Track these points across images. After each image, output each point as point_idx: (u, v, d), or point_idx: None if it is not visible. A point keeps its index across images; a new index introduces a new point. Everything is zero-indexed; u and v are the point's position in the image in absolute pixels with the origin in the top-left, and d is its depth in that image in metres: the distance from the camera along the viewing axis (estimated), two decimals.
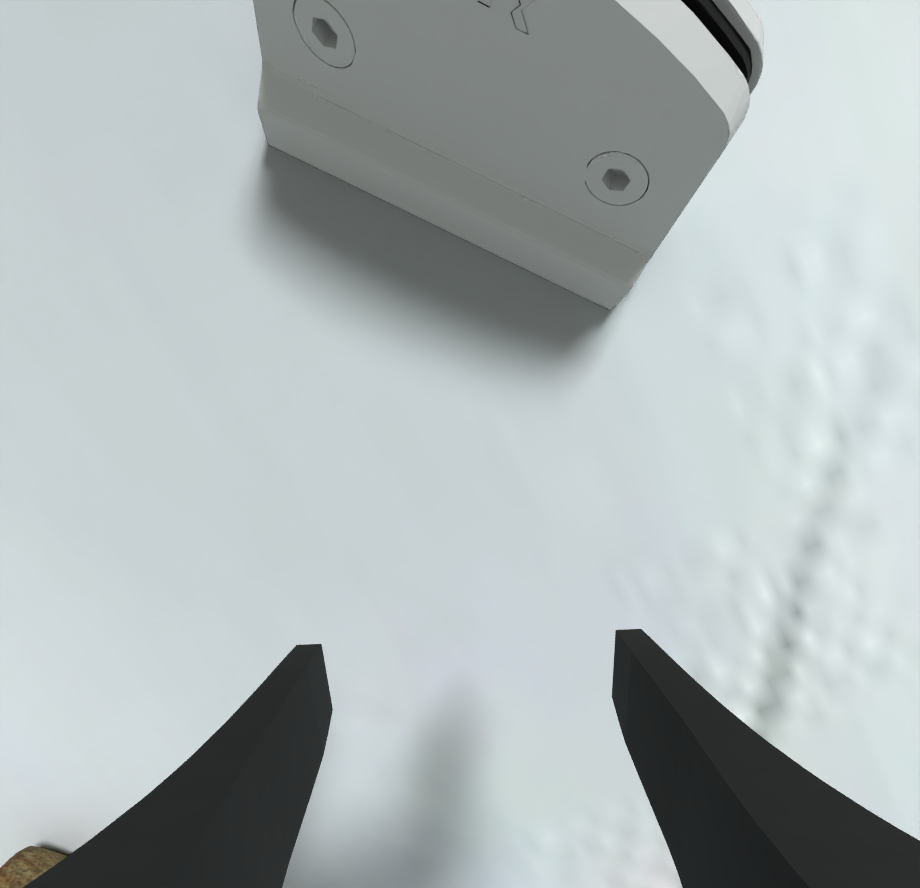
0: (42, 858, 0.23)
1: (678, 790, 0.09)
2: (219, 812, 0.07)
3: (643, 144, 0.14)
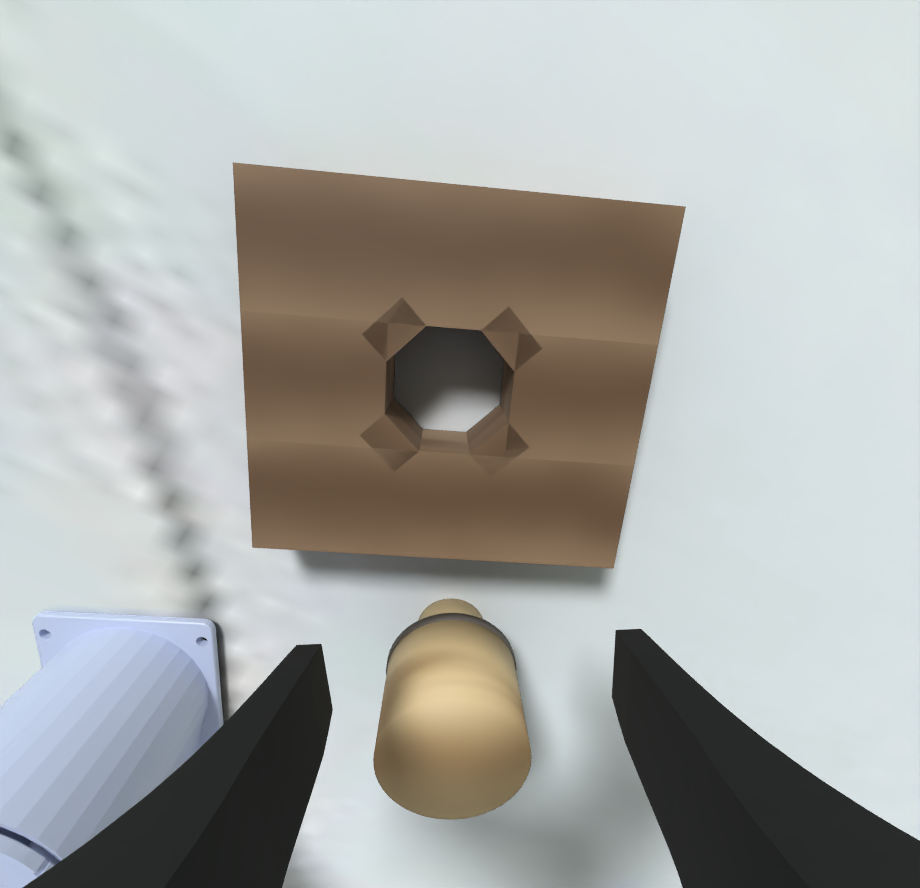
0: None
1: (678, 790, 0.09)
2: (219, 812, 0.07)
3: None
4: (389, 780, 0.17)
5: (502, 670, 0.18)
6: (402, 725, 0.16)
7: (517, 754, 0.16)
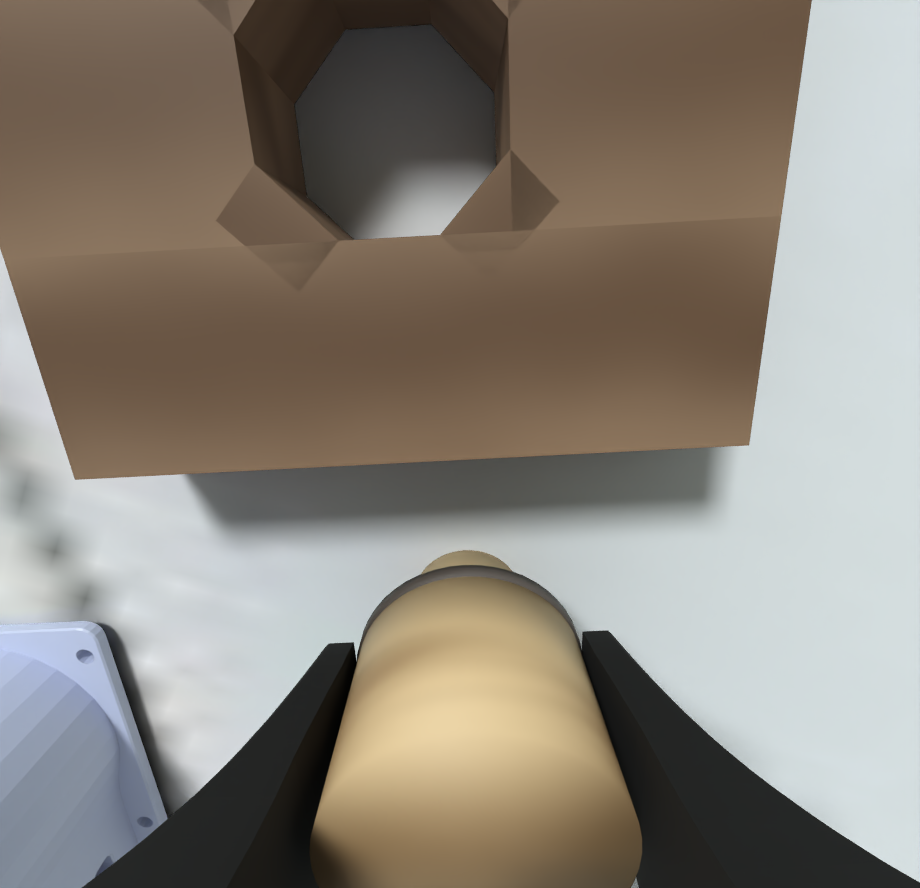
0: None
1: (634, 792, 0.09)
2: (272, 809, 0.07)
3: None
4: None
5: (559, 659, 0.09)
6: (356, 796, 0.07)
7: (610, 834, 0.08)
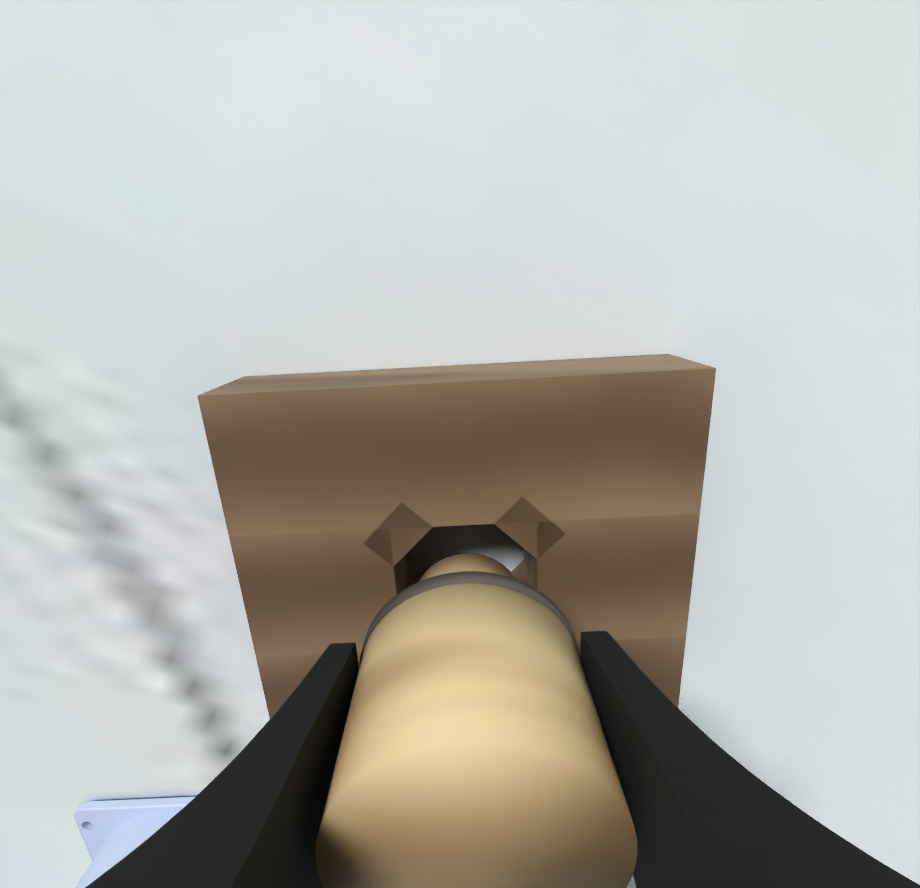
0: None
1: (632, 792, 0.09)
2: (275, 810, 0.07)
3: None
4: None
5: (556, 666, 0.09)
6: (359, 804, 0.08)
7: (606, 836, 0.08)
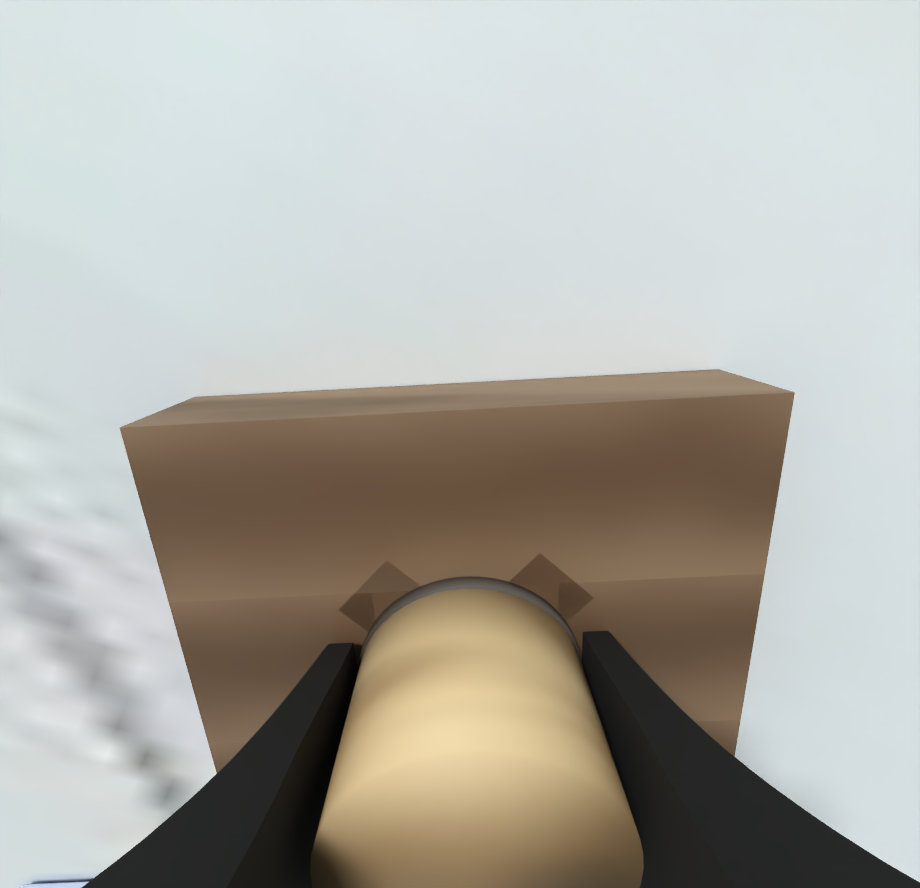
0: None
1: (634, 792, 0.09)
2: (272, 810, 0.07)
3: None
4: None
5: (558, 673, 0.09)
6: (356, 815, 0.07)
7: (612, 851, 0.08)
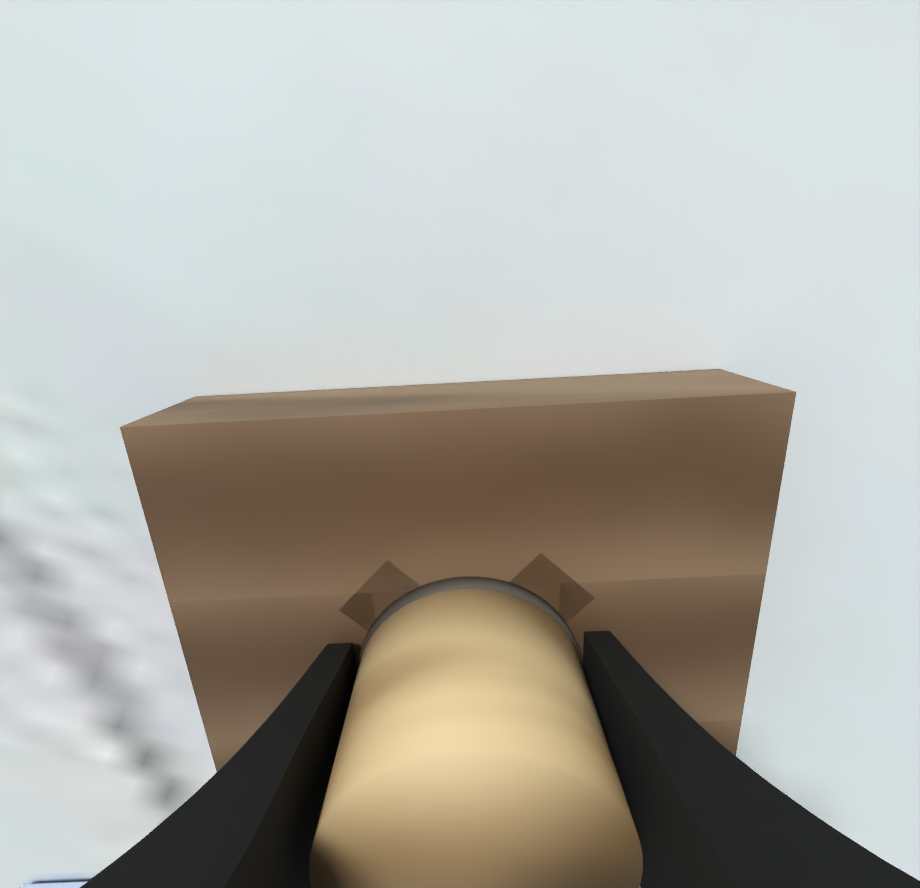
0: None
1: (636, 792, 0.09)
2: (270, 810, 0.07)
3: None
4: None
5: (558, 672, 0.09)
6: (355, 815, 0.07)
7: (610, 851, 0.08)
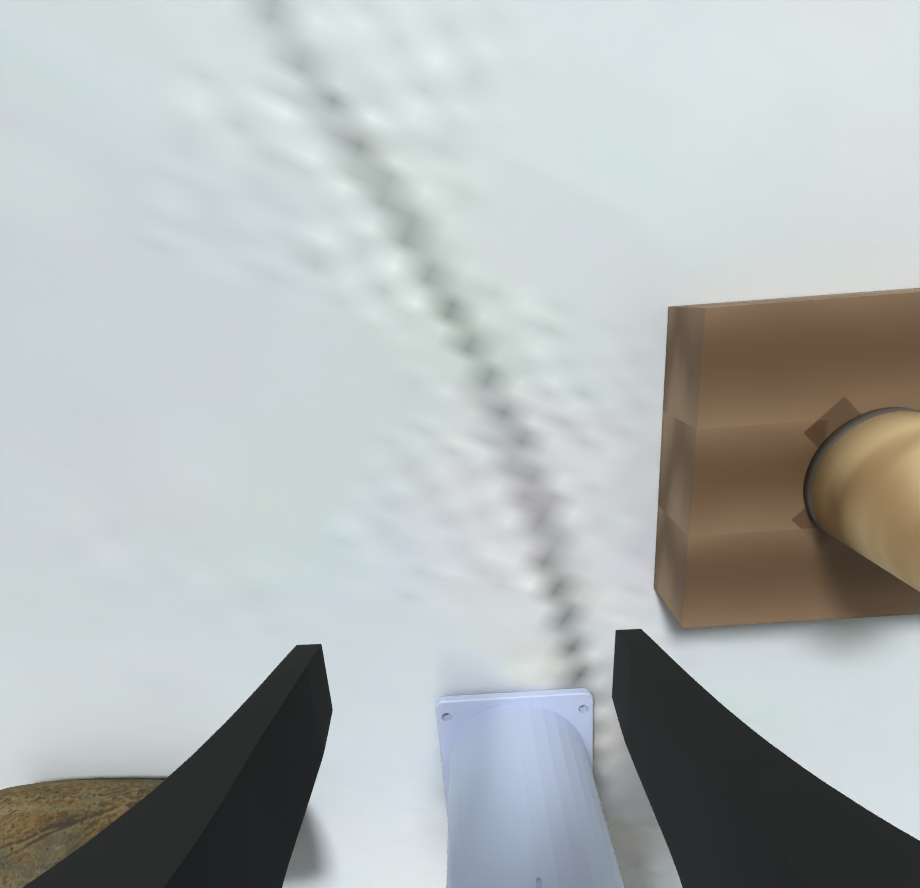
0: (8, 791, 0.24)
1: (678, 790, 0.09)
2: (220, 812, 0.07)
3: None
4: None
5: None
6: None
7: None
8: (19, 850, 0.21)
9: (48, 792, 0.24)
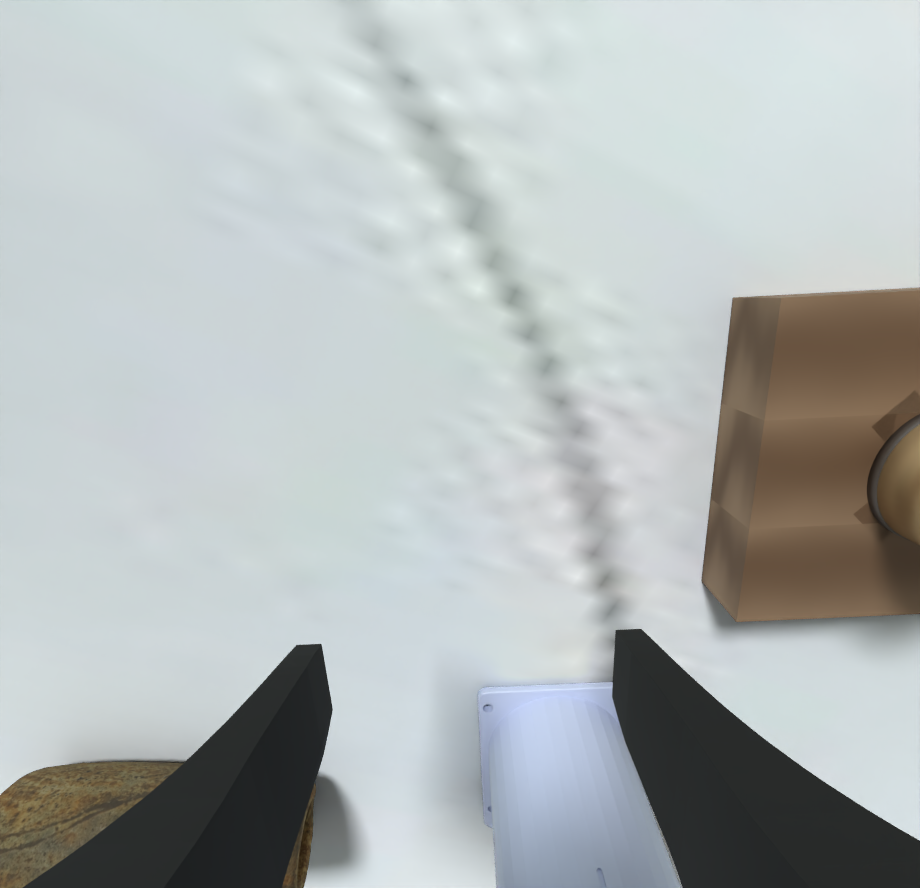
0: (47, 770, 0.24)
1: (678, 790, 0.09)
2: (220, 812, 0.07)
3: None
4: None
5: None
6: None
7: None
8: (64, 830, 0.21)
9: (89, 773, 0.24)
